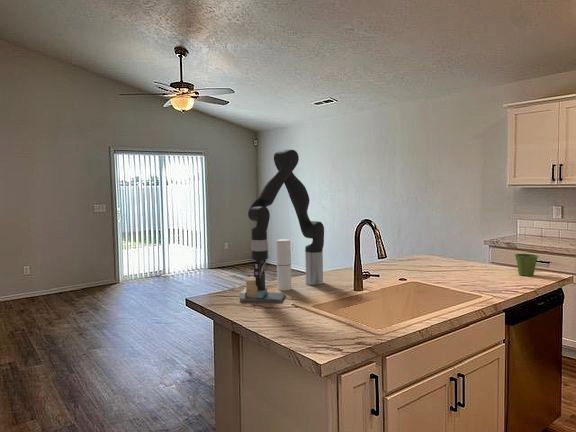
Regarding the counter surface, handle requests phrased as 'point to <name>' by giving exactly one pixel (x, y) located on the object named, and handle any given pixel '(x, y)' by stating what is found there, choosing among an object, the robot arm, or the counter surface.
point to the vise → (267, 297)
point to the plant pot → (526, 264)
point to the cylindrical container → (283, 264)
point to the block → (251, 287)
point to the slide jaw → (262, 287)
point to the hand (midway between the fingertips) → (260, 283)
